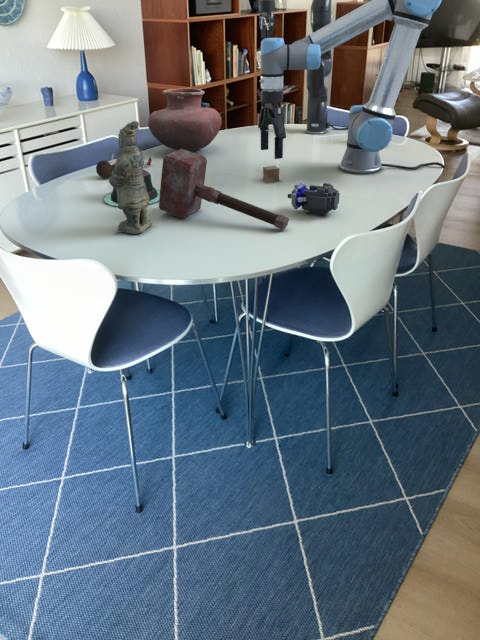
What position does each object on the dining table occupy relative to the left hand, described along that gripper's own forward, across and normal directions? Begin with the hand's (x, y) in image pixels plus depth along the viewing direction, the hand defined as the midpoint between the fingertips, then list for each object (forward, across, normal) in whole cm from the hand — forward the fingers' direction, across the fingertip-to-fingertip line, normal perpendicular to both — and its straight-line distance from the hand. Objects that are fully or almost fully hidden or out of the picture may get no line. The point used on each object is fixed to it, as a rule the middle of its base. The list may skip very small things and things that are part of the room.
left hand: (266, 38), depth 270 cm
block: (+40, +97, -36) cm, 111 cm away
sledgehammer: (+40, +131, -64) cm, 151 cm away
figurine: (+40, +65, -84) cm, 113 cm away
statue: (+40, +128, -90) cm, 161 cm away
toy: (+40, +134, -36) cm, 145 cm away
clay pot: (+40, +43, -54) cm, 79 cm away
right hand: (+30, +97, -36) cm, 108 cm away
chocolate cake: (+40, +98, -85) cm, 136 cm away
